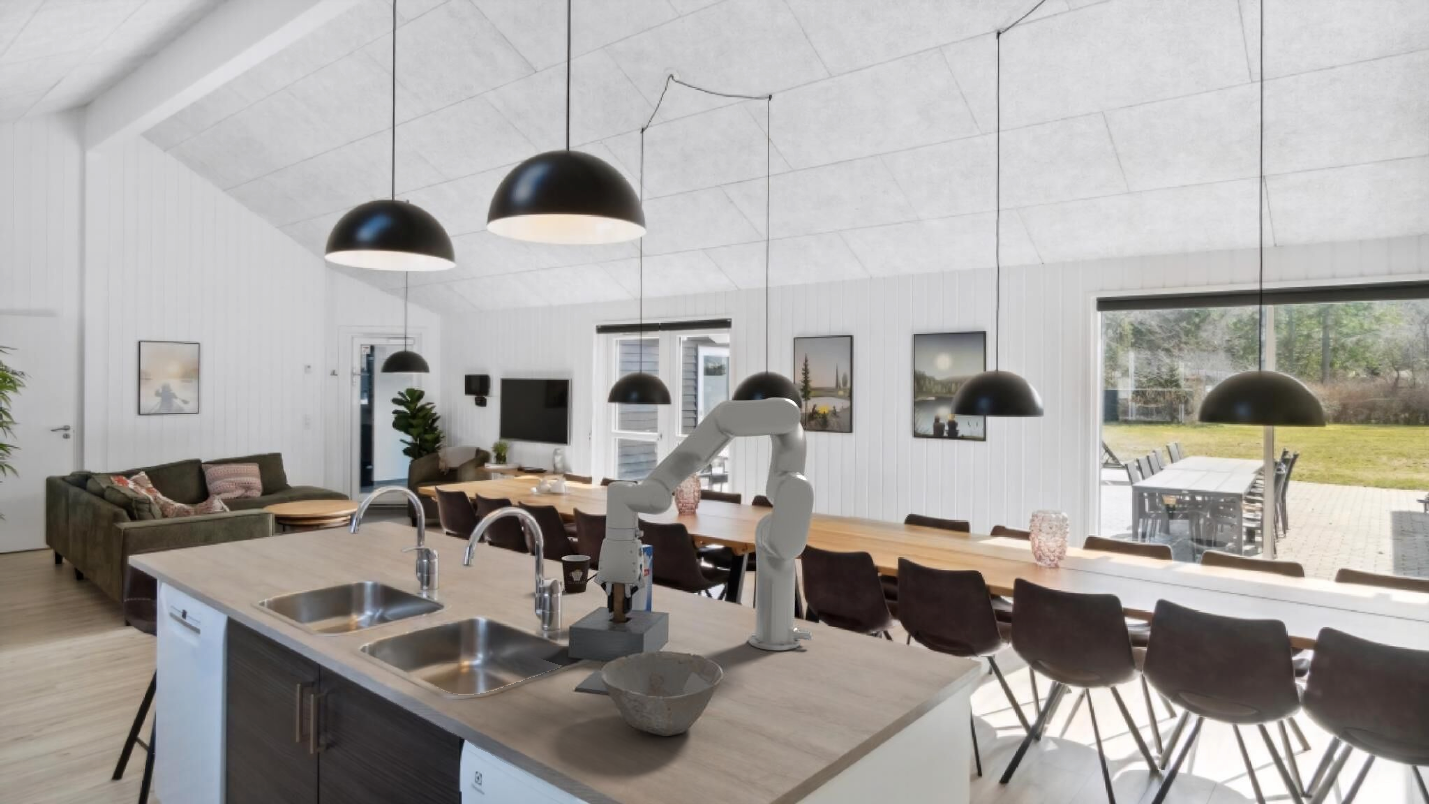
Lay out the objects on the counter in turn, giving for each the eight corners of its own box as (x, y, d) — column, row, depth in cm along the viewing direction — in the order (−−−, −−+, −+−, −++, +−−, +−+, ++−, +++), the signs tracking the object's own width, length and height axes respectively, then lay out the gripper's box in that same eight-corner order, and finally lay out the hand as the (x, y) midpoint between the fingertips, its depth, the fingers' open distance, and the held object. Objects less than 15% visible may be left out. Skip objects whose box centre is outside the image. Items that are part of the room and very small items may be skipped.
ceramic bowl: (620, 764, 126) (622, 702, 126) (585, 711, 147) (586, 658, 147) (744, 742, 135) (745, 685, 135) (694, 695, 156) (695, 645, 156)
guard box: (668, 641, 190) (668, 612, 190) (643, 665, 173) (643, 634, 173) (599, 634, 195) (600, 606, 195) (568, 657, 177) (569, 626, 177)
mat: (639, 678, 165) (639, 676, 165) (621, 696, 155) (621, 693, 155) (595, 673, 167) (595, 671, 167) (575, 690, 157) (575, 687, 157)
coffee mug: (556, 593, 235) (557, 560, 235) (566, 586, 243) (567, 554, 243) (593, 595, 233) (594, 562, 233) (602, 588, 242) (603, 556, 242)
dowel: (627, 627, 185) (628, 568, 185) (622, 630, 182) (624, 571, 182) (615, 626, 185) (616, 567, 185) (610, 629, 183) (612, 570, 182)
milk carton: (636, 615, 212) (637, 542, 212) (651, 620, 208) (652, 545, 208) (607, 622, 205) (608, 546, 205) (622, 627, 201) (623, 550, 201)
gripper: (659, 534, 185) (657, 611, 185) (595, 529, 189) (593, 605, 189) (649, 539, 178) (646, 619, 178) (583, 534, 182) (580, 612, 182)
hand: (619, 611), depth 184 cm, fingers closed on dowel, 3 cm apart
